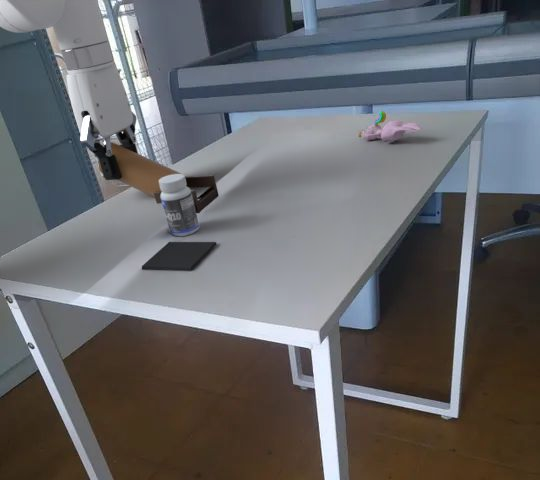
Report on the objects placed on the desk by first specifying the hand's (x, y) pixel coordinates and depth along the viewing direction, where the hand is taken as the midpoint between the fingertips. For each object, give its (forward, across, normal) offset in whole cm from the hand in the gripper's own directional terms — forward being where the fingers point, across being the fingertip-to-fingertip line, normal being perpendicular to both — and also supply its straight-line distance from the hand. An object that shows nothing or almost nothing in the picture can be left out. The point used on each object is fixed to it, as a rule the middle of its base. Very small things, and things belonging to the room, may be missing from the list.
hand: (123, 172), depth 97 cm
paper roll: (+3, 0, +3) cm, 4 cm away
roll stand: (+6, 0, +12) cm, 13 cm away
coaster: (+6, +20, +21) cm, 30 cm away
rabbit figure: (+6, -29, +41) cm, 51 cm away
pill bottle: (+7, +11, +17) cm, 21 cm away
